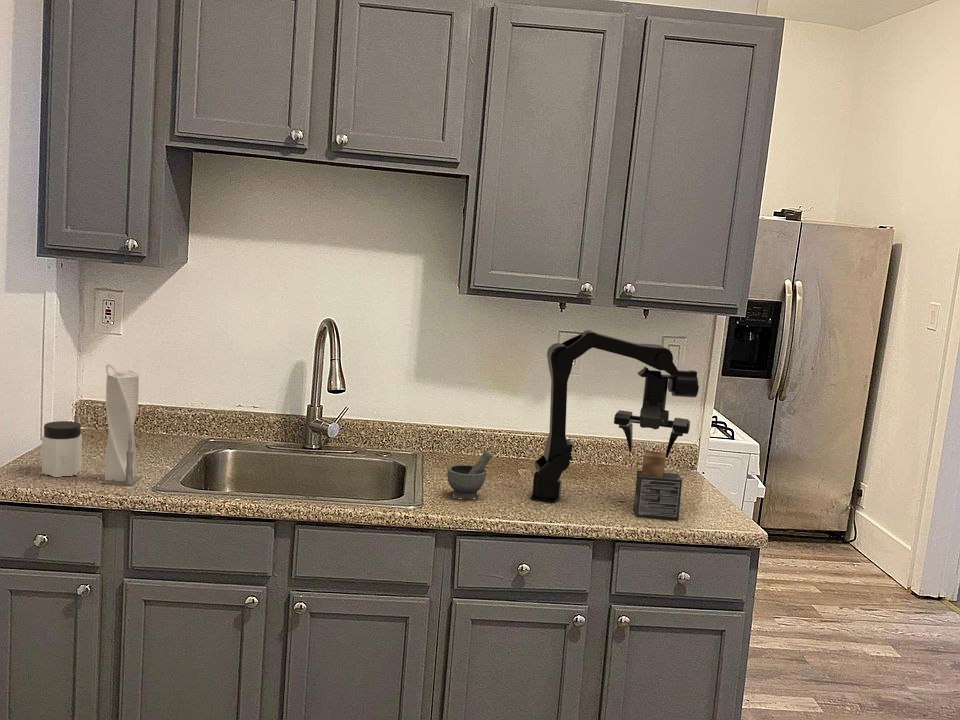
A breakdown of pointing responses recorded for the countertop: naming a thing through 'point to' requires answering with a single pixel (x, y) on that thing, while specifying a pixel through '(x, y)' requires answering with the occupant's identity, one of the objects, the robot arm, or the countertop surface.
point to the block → (653, 464)
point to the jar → (61, 448)
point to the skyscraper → (121, 427)
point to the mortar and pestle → (468, 477)
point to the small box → (658, 496)
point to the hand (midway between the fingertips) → (648, 454)
